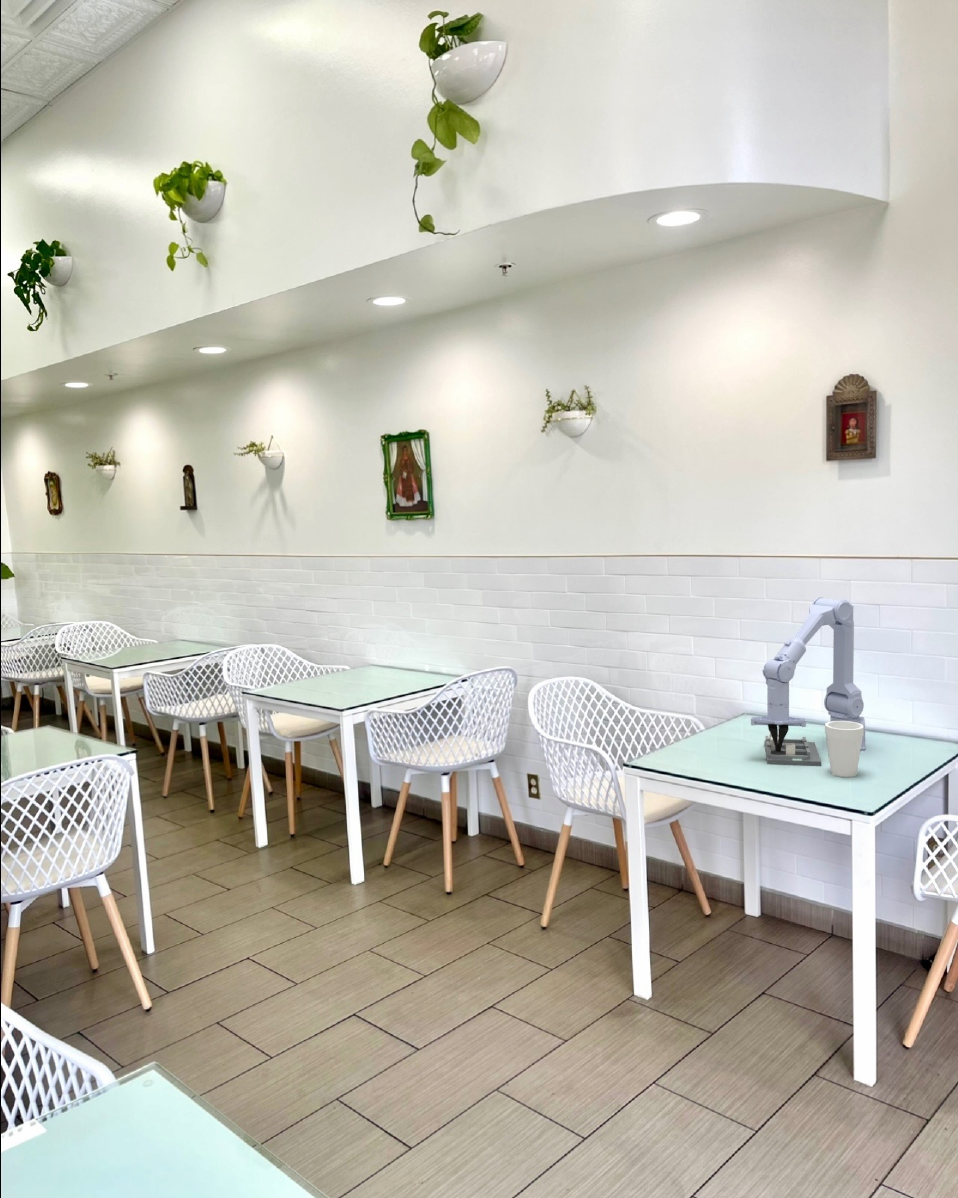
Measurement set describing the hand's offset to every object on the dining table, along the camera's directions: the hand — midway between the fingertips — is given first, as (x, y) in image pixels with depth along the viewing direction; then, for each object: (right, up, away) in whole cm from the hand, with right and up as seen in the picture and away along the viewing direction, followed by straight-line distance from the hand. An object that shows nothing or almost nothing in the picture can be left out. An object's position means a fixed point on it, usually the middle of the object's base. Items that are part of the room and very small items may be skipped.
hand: (778, 751), depth 262 cm
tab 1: (+3, 0, +12) cm, 12 cm away
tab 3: (+3, -1, -1) cm, 3 cm away
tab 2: (+1, -1, +6) cm, 6 cm away
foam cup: (+13, -4, -13) cm, 19 cm away
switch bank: (+5, -2, +5) cm, 8 cm away
